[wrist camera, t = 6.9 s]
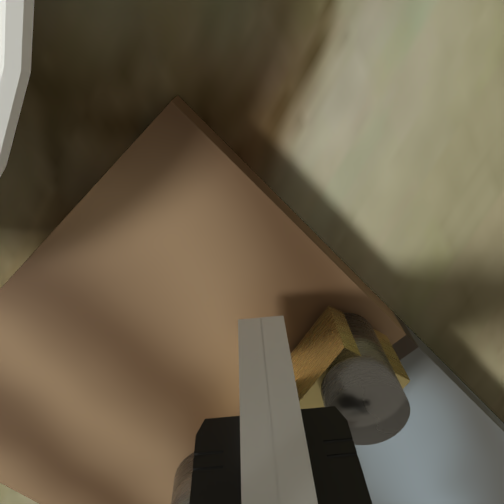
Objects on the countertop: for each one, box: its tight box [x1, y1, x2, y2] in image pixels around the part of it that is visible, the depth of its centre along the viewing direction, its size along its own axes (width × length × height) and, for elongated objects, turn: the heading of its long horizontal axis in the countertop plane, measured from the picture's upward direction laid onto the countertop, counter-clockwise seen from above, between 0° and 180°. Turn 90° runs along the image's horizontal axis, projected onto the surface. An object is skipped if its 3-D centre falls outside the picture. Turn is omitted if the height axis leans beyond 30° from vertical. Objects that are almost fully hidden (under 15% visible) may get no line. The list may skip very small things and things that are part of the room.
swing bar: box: [171, 305, 410, 504], centre depth 16 cm, size 12×4×4 cm, turn 149°
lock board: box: [0, 96, 504, 504], centre depth 18 cm, size 17×24×5 cm
